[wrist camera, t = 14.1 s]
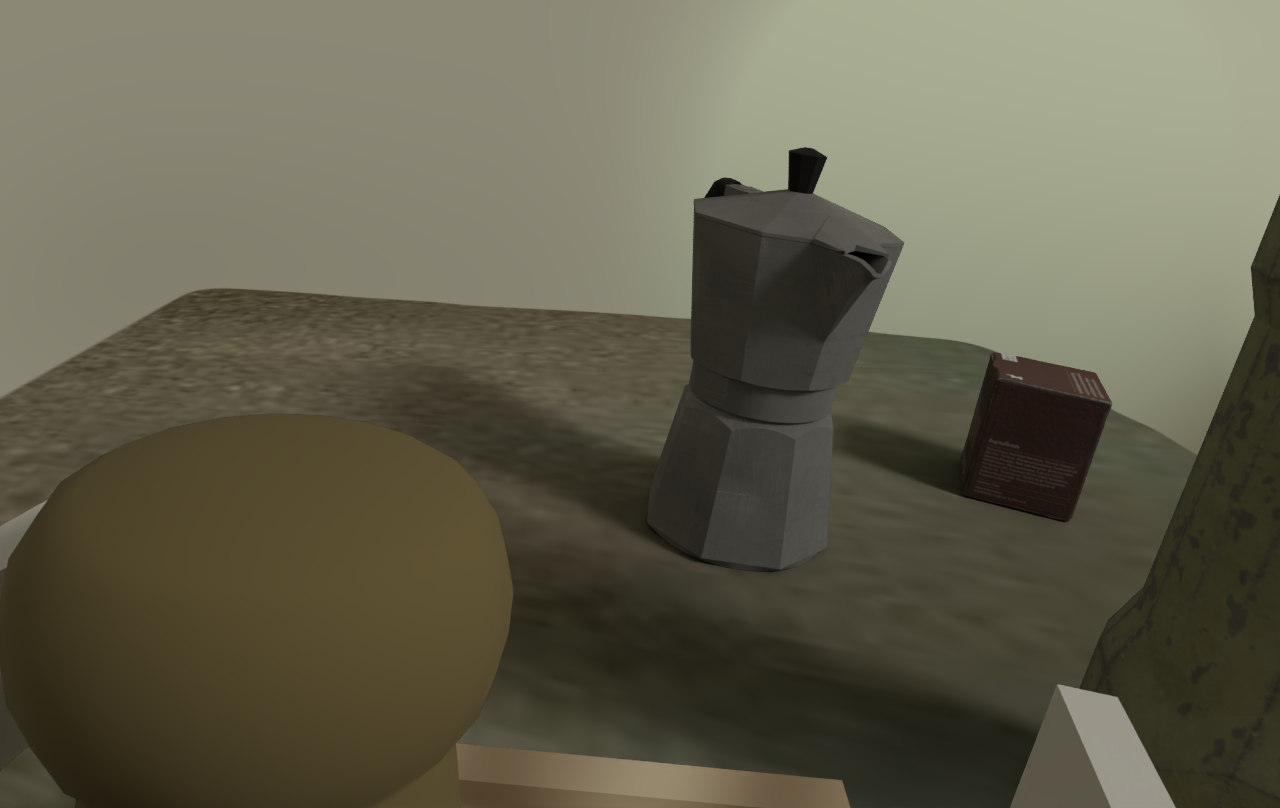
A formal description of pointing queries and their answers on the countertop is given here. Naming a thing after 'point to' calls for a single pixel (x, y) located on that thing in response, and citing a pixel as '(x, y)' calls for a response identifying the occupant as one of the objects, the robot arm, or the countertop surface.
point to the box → (1033, 435)
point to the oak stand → (626, 783)
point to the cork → (257, 619)
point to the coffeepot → (767, 369)
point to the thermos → (1215, 595)
